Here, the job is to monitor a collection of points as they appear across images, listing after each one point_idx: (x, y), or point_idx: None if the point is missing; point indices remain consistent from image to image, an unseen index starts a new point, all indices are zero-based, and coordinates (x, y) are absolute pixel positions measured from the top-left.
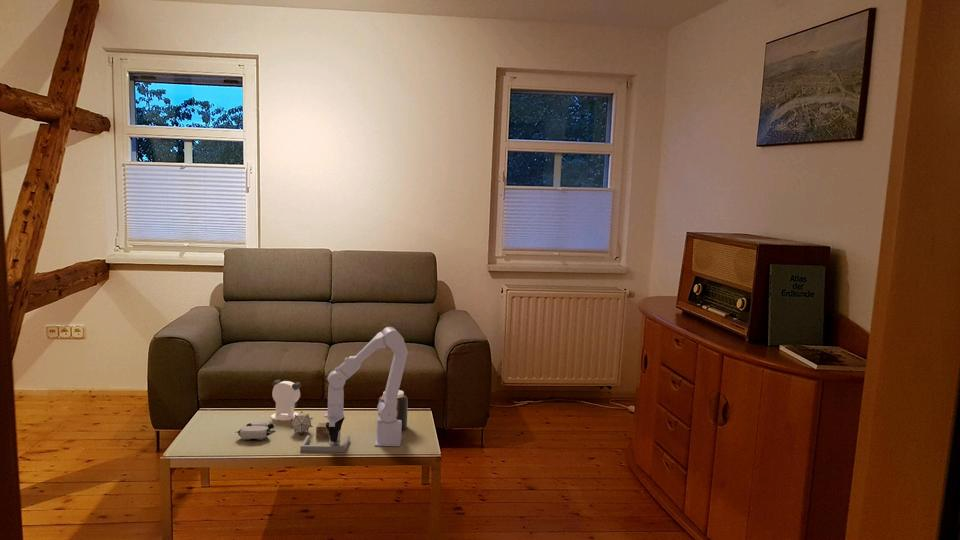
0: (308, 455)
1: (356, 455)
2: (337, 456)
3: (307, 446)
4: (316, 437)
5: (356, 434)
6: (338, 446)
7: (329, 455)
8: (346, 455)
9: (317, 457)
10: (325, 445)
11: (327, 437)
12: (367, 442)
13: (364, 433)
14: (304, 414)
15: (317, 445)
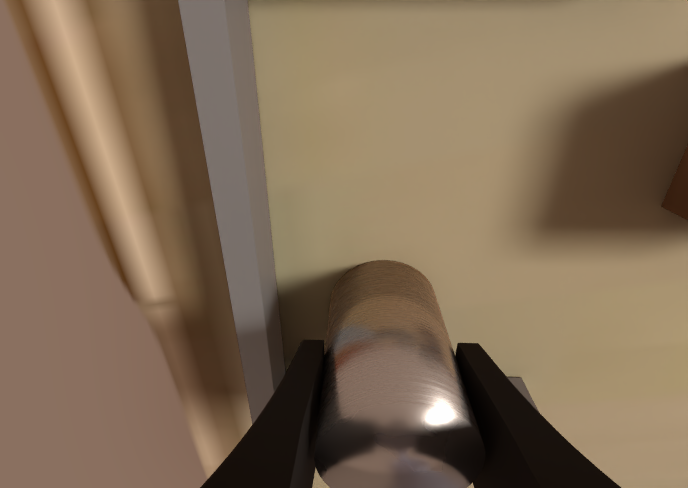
0: (102, 83)
1: (218, 449)
2: (165, 351)
3: (188, 34)
4: None
5: (669, 421)
6: (251, 386)
7: (168, 293)
8: (202, 401)
9: (85, 198)
10: (258, 273)
11: (667, 204)
12: None
13: (670, 462)
14: None
15: (242, 182)
